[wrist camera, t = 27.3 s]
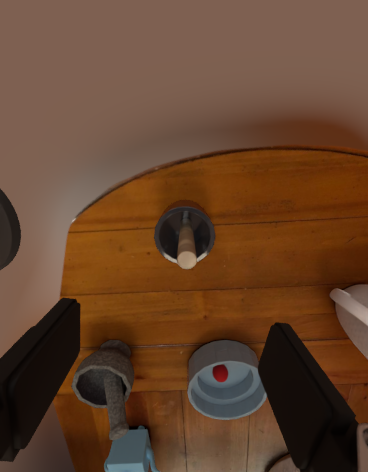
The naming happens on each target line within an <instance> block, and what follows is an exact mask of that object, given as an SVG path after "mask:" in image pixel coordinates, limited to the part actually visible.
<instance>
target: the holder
mask: <svg viewBox="0 0 368 472" xmlns="http://www.w3.org/2000/svg"><path fill="white" fill-rule="evenodd" d="M185 218H187V219H190V220H191V222H192V228H193V235H194V242H195V249H196V256H197V262H198V261H200V260H202V259H203V258H204V257H205V256H207V255H208V254H209V252H210V250H211V249H212V247H213V245H214V240H215V231H214V226H213V224H212V222H211V220H210V218H209V217H208V215H207V213H206V212H205V210H204V208H203V207H201V206H200V205H199V204H198V203H196V202H194V201H190V200H179V201H176V202H174V203H172V204H170V205H169V206H168V207H167V208H166V209H165V210H164V212H163V214H162V215H161V217H160V219H159V221H158V223H157V225H156V227H155V234H154V239H155V243H156V247H157V249H158V250H159V251H160V253H161V254H162V255H163V256H164V257H165V258H166V259H168V260H169V261H171V262H174V263H177V253H178V243H179V232H180V222H181V221H182V220H183V219H185ZM177 264H178V263H177Z"/></svg>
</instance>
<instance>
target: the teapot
mask: <svg viewBox="0 0 368 472" xmlns="http://www.w3.org/2000/svg"><path fill="white" fill-rule="evenodd" d="M149 461H150V465H151V470H152V472H160V471H158V470H157V468H156V466H155V460H154V453H153V450H152V448H151V445H150V440H149V435H148V430H147V429H145V427H144V426H139V427H138V430H129V431H128V432H127V434H126V435H124V436H123V437H121V438H119V439H116V440H113V443H112V446H111V450H110V454H109V457H108V458H107V460H106V461H105V465H104V468H105V471H106V472H148V467H149ZM107 467H108V468H107Z"/></svg>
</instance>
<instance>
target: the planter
mask: <svg viewBox="0 0 368 472" xmlns="http://www.w3.org/2000/svg"><path fill="white" fill-rule="evenodd" d="M269 472H300V470H299V469H298V468H296V466H295V465H294V463H293V461H292V458H291V456H290V454H289V455H286V456H284V457H282V458H281V459H279V460H278V461H277V462H276V463H275V464H274V465H273V467H272V468H271V469H270V471H269Z"/></svg>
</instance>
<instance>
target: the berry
mask: <svg viewBox="0 0 368 472" xmlns="http://www.w3.org/2000/svg"><path fill="white" fill-rule="evenodd" d="M212 373H213V377H214V378H215V380H216V381H218V382H225V381H226V380H227V378H228V369H227V367H226V366H225V365H223V364H221V365H217V366H214V367H213V371H212Z"/></svg>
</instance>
